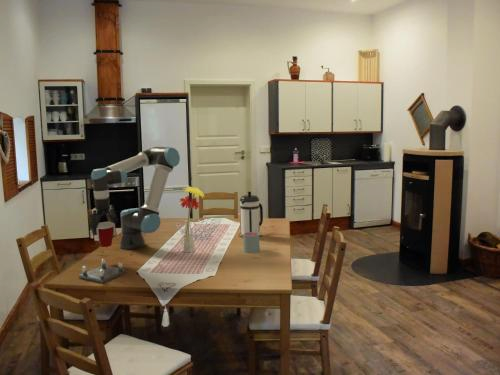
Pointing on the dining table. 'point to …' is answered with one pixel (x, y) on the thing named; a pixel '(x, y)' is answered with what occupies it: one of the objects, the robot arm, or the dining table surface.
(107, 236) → the plastic cup
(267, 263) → the dining table surface
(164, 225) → the dining table surface
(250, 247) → the mug
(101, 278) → the chassis
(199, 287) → the dining table surface
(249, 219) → the coffee press
